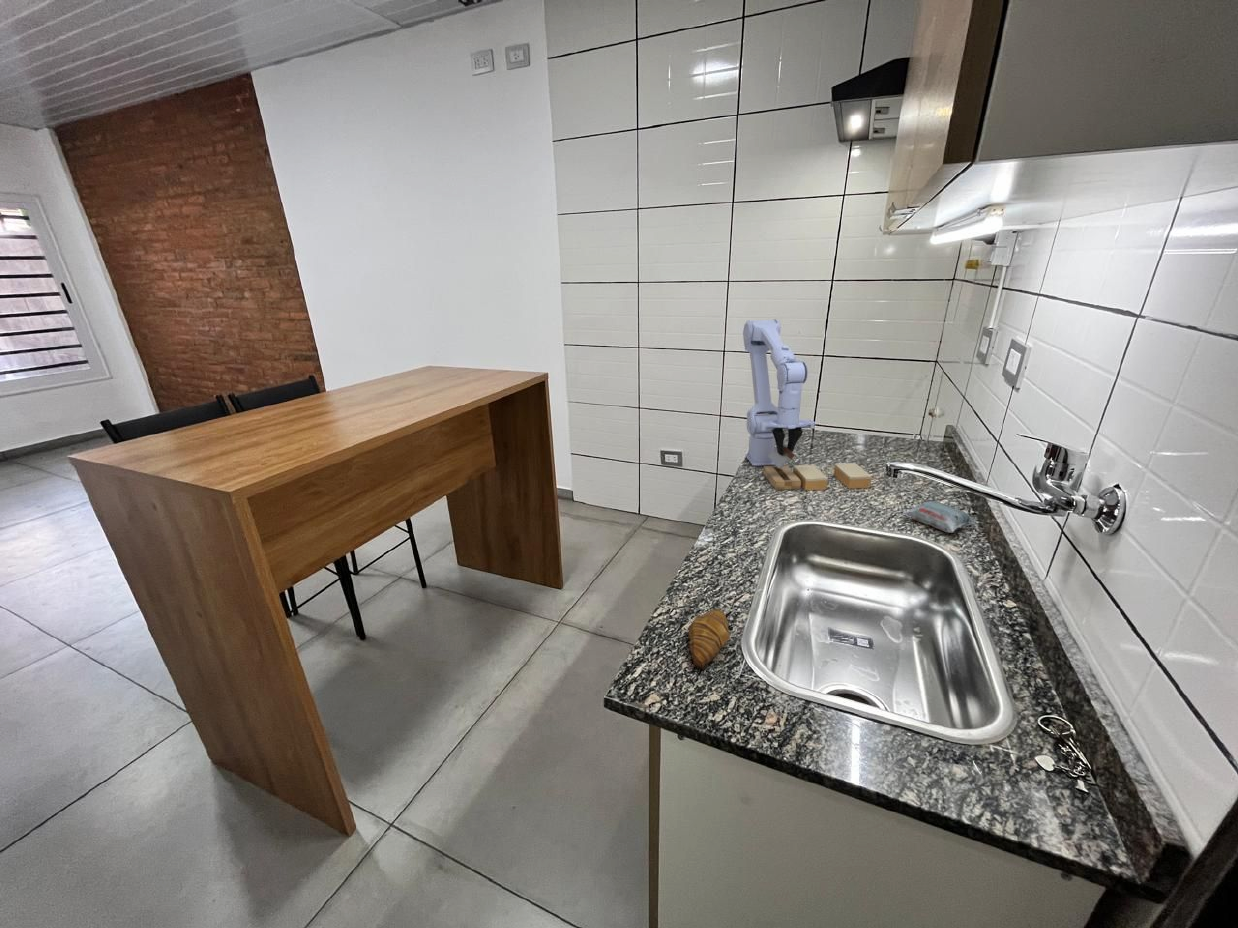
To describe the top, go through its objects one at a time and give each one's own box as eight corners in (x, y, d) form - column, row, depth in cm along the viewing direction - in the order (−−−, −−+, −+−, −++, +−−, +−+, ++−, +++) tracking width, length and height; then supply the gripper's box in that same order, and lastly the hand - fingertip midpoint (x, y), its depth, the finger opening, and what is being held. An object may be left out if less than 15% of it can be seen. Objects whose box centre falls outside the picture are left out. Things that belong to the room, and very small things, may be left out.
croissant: (700, 613, 87) (700, 590, 86) (737, 622, 85) (739, 599, 83) (676, 665, 76) (676, 639, 74) (718, 678, 73) (719, 652, 71)
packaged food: (951, 541, 106) (956, 521, 105) (900, 519, 116) (904, 501, 114) (974, 531, 110) (979, 512, 108) (923, 511, 120) (927, 493, 118)
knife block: (762, 473, 146) (763, 465, 145) (786, 472, 146) (786, 464, 145) (775, 490, 134) (775, 481, 134) (800, 489, 134) (801, 480, 134)
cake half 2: (833, 474, 143) (834, 463, 141) (853, 473, 143) (855, 462, 141) (848, 488, 133) (850, 477, 132) (870, 487, 133) (872, 476, 132)
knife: (766, 455, 142) (779, 440, 141) (770, 457, 143) (783, 443, 141) (777, 467, 133) (790, 451, 131) (781, 470, 133) (795, 455, 132)
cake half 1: (792, 476, 143) (793, 465, 142) (812, 475, 143) (814, 464, 142) (804, 490, 134) (806, 478, 132) (826, 489, 133) (828, 478, 132)
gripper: (766, 411, 128) (763, 459, 133) (821, 409, 128) (815, 457, 133) (759, 405, 135) (756, 450, 140) (811, 402, 135) (806, 448, 140)
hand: (784, 453), depth 137 cm, fingers closed on knife, 2 cm apart
